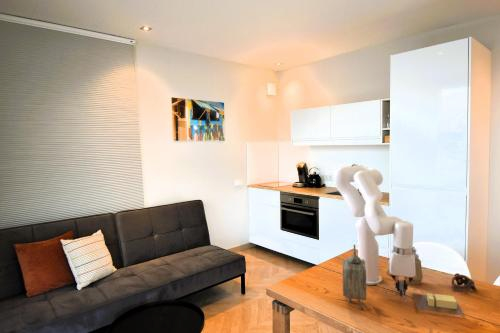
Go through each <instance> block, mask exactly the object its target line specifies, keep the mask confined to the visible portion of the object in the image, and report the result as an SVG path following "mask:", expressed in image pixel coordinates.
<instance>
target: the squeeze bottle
mask: <svg viewBox="0 0 500 333" xmlns="http://www.w3.org/2000/svg"><path fill="white" fill-rule="evenodd" d="M413 248H415V249H416V247H414V246H413ZM413 253H414V257H415V272H416V275H417V277H418V279H415V280H412V281H410V282H409V283H408V284H409V285H421V283H422V280H423V278H424V277H423V267H422V260H421V259H420V256H419V254H417V251H416V252H413ZM403 277H404V276H403ZM404 279H405V277H404Z"/></svg>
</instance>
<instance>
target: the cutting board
mask: <svg viewBox="0 0 500 333" xmlns="http://www.w3.org/2000/svg"><path fill="white" fill-rule="evenodd" d="M411 294H412V296H413V300H414V303H415V306H416V309H417V311H425V312H431V313H432V312H433V313H441V314H447V315H453V316H462V317H465V314H464V313H463V310H462V309H461V307H460V305H459V303H457V309H451V308H444V307H437V306H436V304H435V302H434V306H429V305H428V303H427V300H426V294H421V293H413V292H412V293H411ZM433 298H434V295H433Z"/></svg>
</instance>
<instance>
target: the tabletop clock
mask: <svg viewBox="0 0 500 333" xmlns="http://www.w3.org/2000/svg"><path fill="white" fill-rule="evenodd" d="M342 295H343V296H344V297H345V298H347V302H349V303H352V300H357V302H358V304H359V309H360V310H364V308H365V307H364V305H363V304H362V302H361V301H367V284H366V265H365V260H362V259H360V258H359V257H358V255H357V252H356V244H353V252H352V255H350V256H349V257H348V258H347V257H346V258H345V259H343V260H342Z"/></svg>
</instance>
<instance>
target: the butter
mask: <svg viewBox="0 0 500 333" xmlns="http://www.w3.org/2000/svg"><path fill="white" fill-rule="evenodd" d="M433 296H434V302H435V304H436V306H437V307H444V308H451V309H457V304H458V302H457V300H456V298H455V296H454V295H447V294H439V293H433Z"/></svg>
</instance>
